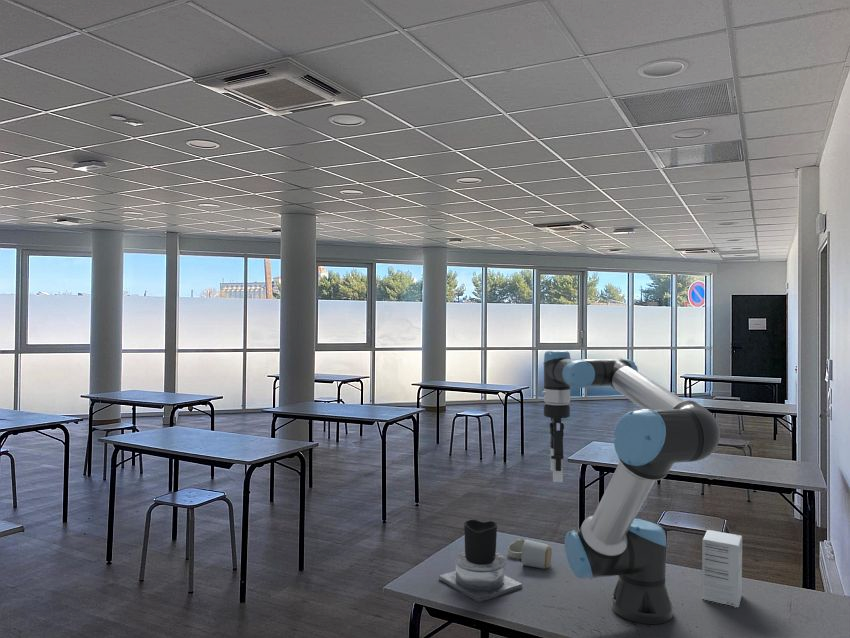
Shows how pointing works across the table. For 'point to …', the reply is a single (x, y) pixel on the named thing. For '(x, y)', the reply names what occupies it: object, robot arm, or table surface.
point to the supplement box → (722, 567)
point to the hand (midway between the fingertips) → (556, 476)
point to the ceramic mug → (536, 554)
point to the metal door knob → (480, 578)
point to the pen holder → (480, 541)
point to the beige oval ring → (516, 549)
